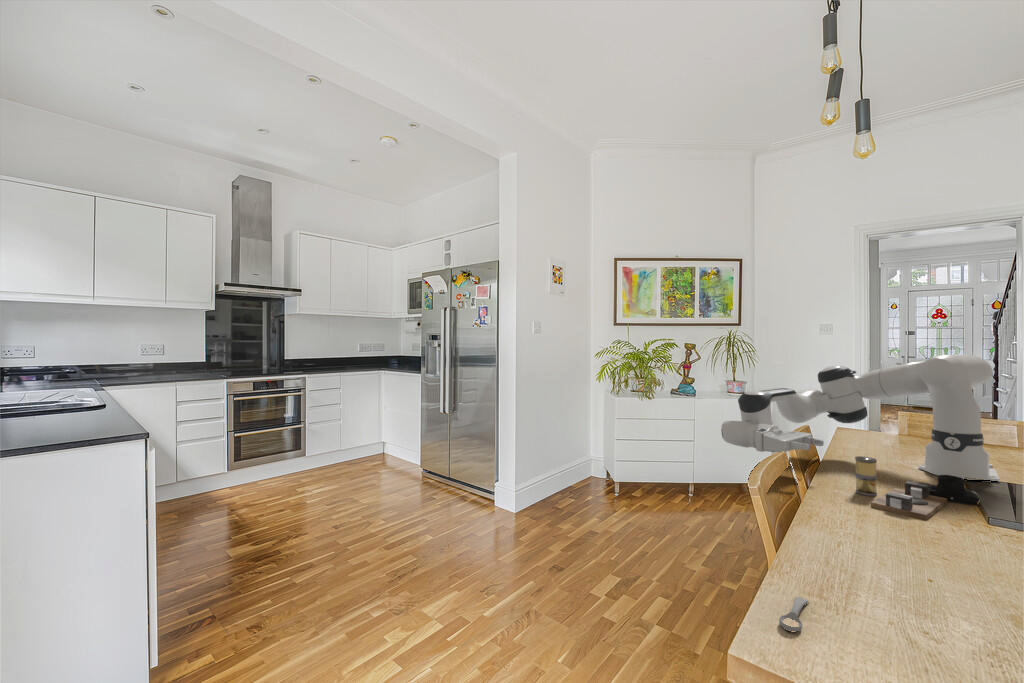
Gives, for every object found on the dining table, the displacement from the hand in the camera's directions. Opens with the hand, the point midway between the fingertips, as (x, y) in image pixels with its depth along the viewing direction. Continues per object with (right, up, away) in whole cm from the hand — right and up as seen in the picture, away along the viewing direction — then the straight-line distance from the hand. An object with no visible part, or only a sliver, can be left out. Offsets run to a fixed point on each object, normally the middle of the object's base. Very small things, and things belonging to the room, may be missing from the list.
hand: (816, 445), depth 139 cm
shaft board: (+12, -11, -19) cm, 25 cm away
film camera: (+26, -12, -14) cm, 32 cm away
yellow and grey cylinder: (+8, -12, -10) cm, 17 cm away
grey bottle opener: (-49, -12, -67) cm, 84 cm away
